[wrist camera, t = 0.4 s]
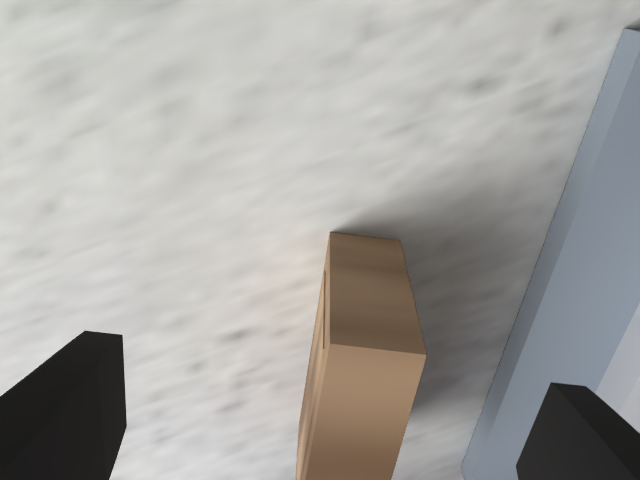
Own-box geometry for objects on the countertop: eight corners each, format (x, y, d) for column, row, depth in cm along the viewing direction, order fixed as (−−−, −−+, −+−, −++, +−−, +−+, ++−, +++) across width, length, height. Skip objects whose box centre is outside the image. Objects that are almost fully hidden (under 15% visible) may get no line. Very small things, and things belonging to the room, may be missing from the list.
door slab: (357, 428, 23) (365, 572, 18) (298, 422, 23) (288, 564, 18) (401, 239, 19) (428, 355, 14) (328, 230, 19) (327, 343, 13)
